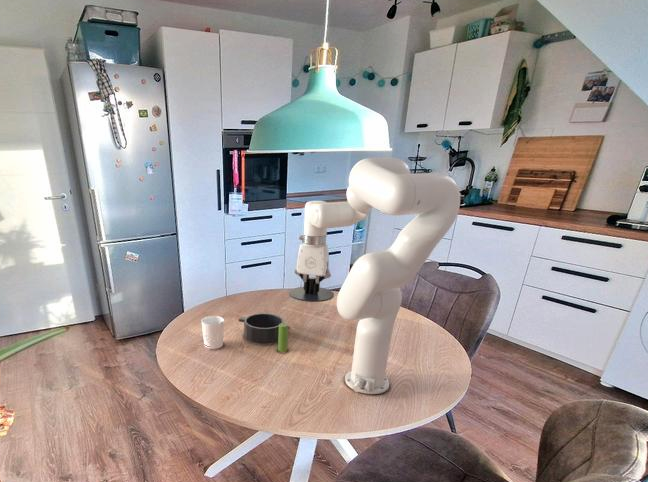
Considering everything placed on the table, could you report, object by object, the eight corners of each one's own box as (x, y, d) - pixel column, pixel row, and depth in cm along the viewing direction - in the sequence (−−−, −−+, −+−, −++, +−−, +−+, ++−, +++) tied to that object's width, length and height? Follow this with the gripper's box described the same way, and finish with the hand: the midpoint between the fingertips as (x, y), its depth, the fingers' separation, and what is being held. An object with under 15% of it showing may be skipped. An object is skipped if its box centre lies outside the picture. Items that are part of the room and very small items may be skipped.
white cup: (219, 351, 135) (218, 325, 131) (199, 348, 137) (197, 322, 133) (227, 342, 142) (227, 317, 138) (207, 339, 144) (206, 314, 140)
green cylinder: (285, 354, 133) (286, 327, 129) (276, 352, 134) (277, 325, 130) (288, 350, 136) (289, 324, 132) (280, 348, 137) (281, 322, 133)
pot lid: (326, 306, 126) (327, 287, 123) (281, 299, 133) (282, 281, 130) (339, 292, 139) (340, 275, 136) (297, 287, 146) (298, 270, 143)
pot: (281, 349, 136) (281, 333, 133) (231, 338, 144) (230, 322, 142) (295, 334, 148) (296, 318, 145) (248, 324, 156) (248, 309, 154)
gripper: (287, 240, 129) (285, 293, 136) (335, 244, 121) (330, 299, 129) (295, 236, 135) (293, 287, 142) (341, 240, 127) (336, 293, 135)
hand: (311, 292), depth 135 cm, fingers closed on pot lid, 2 cm apart
